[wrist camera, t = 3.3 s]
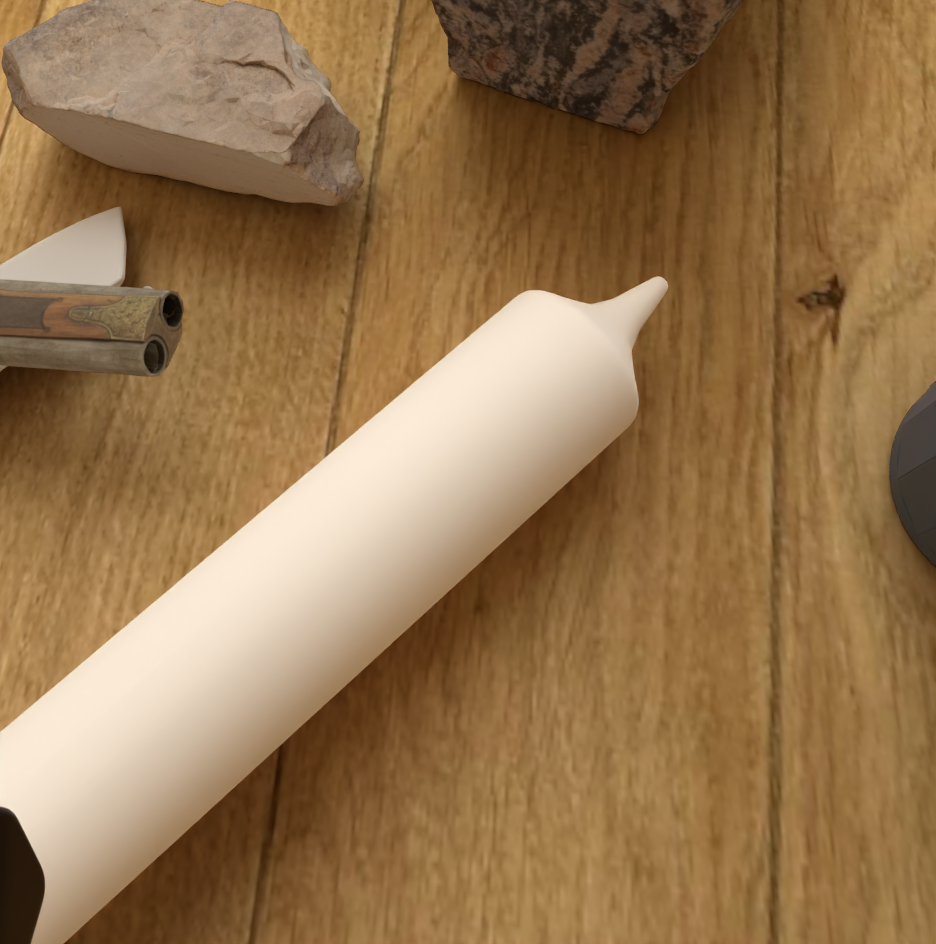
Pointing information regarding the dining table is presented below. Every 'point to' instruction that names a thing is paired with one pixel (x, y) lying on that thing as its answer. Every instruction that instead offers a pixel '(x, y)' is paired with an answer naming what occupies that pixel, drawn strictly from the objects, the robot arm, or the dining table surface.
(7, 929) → the robot arm
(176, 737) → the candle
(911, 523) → the jar
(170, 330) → the flintlock pistol
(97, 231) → the kitchen knife
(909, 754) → the dining table surface
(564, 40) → the stone block
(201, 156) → the stone
